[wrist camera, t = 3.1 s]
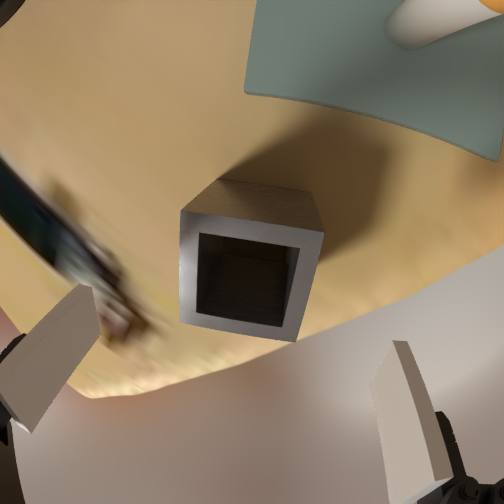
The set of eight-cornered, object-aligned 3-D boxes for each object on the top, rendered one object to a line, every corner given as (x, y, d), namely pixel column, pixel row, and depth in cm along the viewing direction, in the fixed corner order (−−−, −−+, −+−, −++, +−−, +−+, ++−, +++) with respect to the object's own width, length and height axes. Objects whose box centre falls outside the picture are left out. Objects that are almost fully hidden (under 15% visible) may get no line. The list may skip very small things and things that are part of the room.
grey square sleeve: (209, 262, 24) (179, 322, 17) (216, 178, 21) (180, 210, 14) (293, 275, 24) (295, 342, 17) (311, 193, 21) (324, 232, 14)
